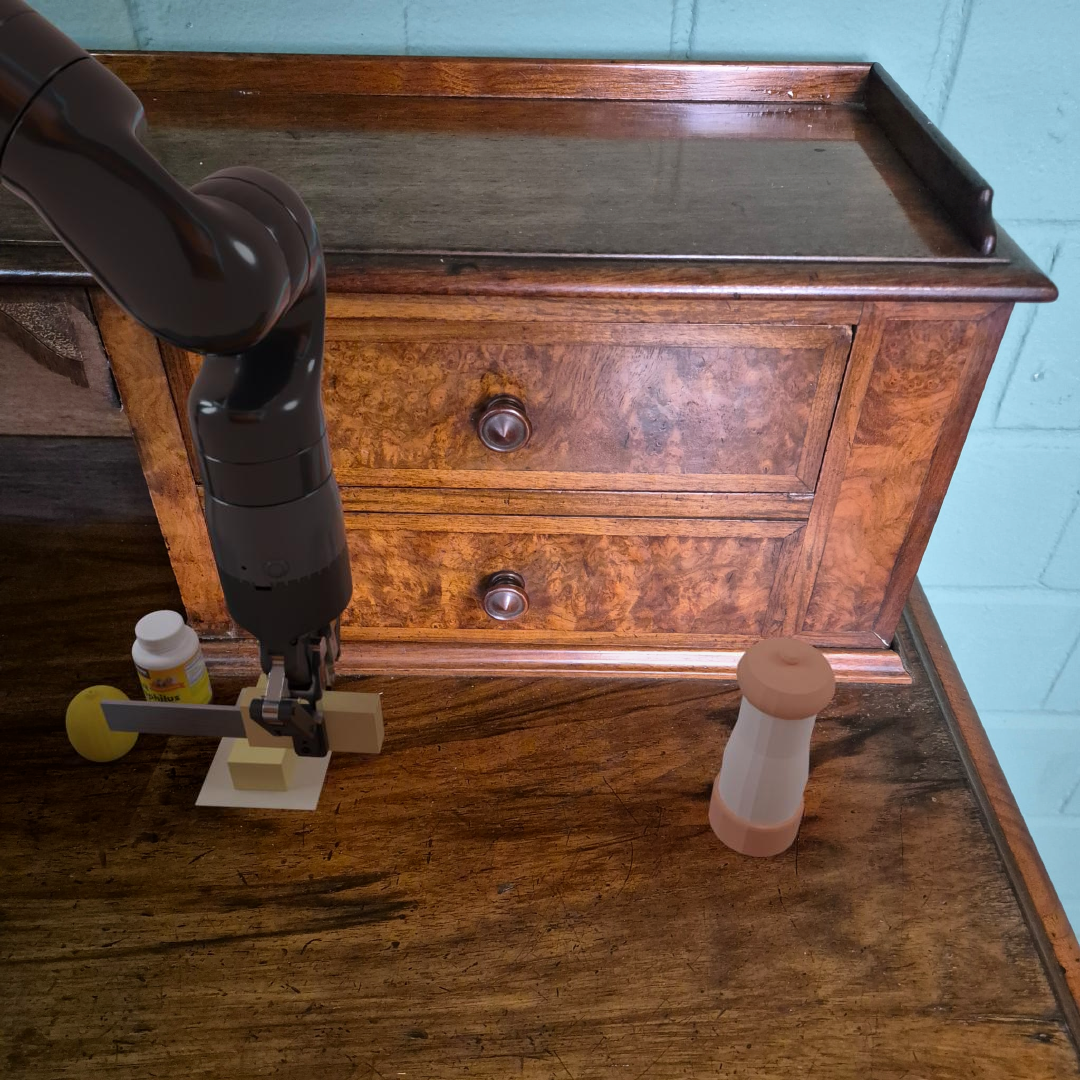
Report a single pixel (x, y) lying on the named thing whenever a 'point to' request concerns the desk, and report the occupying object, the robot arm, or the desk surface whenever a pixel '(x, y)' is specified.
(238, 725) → the knife
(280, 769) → the butter block
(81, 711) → the lemon
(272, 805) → the butter dish
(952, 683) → the desk surface
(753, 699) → the pepper shaker
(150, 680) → the supplement bottle
